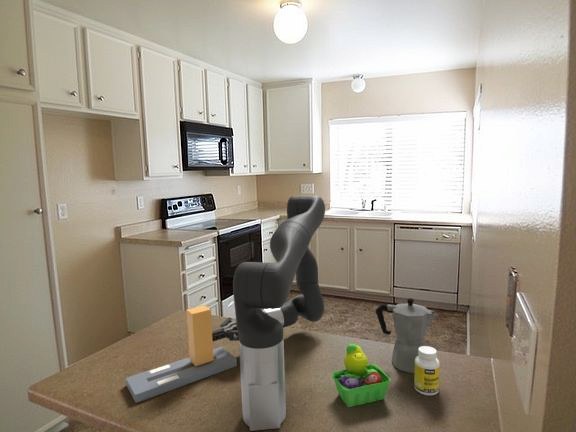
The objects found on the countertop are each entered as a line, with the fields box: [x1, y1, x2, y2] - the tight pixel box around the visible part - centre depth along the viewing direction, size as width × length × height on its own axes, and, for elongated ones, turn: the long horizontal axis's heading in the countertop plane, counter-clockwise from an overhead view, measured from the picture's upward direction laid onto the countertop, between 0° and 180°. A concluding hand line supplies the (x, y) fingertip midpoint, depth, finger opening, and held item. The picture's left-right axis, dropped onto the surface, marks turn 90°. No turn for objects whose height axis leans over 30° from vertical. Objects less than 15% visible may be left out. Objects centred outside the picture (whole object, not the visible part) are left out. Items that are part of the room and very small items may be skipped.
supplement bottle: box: [413, 345, 441, 396], centre depth 87 cm, size 5×5×10 cm
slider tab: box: [186, 305, 214, 366], centre depth 98 cm, size 5×4×14 cm
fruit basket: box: [331, 342, 391, 408], centre depth 85 cm, size 11×9×11 cm
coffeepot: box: [375, 297, 439, 374], centre depth 98 cm, size 15×9×18 cm, turn 67°
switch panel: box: [125, 346, 238, 404], centre depth 96 cm, size 26×9×2 cm, turn 126°
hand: (209, 337), depth 100 cm, fingers closed
